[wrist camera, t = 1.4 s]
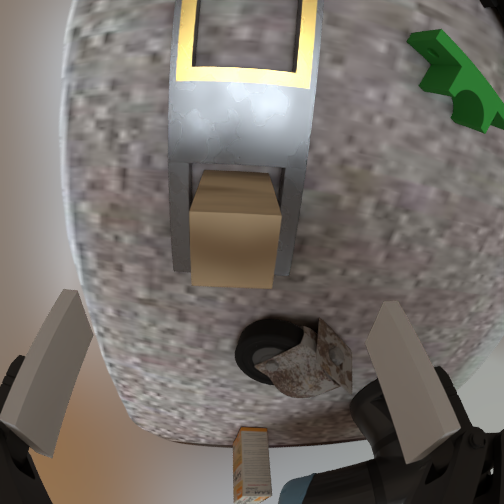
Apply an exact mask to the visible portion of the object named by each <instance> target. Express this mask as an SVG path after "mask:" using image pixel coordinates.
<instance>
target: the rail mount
mask: <svg viewBox="0 0 504 504" xmlns="http://www.w3.org/2000/svg"><path fill="white" fill-rule="evenodd" d="M480 1H481V2H482V4H483V6H484V7H485V8H487V7H497V9H498V11H499V13H500V14H501V16H502V18H503V20H504V0H480Z"/></svg>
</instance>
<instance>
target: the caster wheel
mask: <svg viewBox="0 0 504 504" xmlns="http://www.w3.org/2000/svg"><path fill="white" fill-rule="evenodd" d="M235 360H236V363H237V365H238V366H239V368H240V369H241V370H242V371H243V372H244V373H245V374H246V375H247V376H249V377H250V378H252V379H254V380H256V381H258V382H261V383H265V384H268V385H275V386H276V388H277V389H278V390H279V391H281V392H282V393H283V394H285V395H287V396H290V397H294V398H309V397H313V396H317V395H320V394H322V393H325V392H328V391H330V390H333V389H335V388H338V387H340V386H342V387H343V388H344V389H345V390H346V391H347V392H348V393H349V394H351V395H352V352H351V350H350V348H349V347H348V346H347V345H346V344H345V343H344V342H343V341H342V340H341V339H340V338H339V337H338V336H337V335H336V334H335V333H334V332H333V330H332V329H331V328H330V327H329V326H328V325H327V324H326V323H325V322H324V321H323V320H322V319H321V318H319V326H318V335H317V334H316V333H315V332H314V331H313V330H312V329H310V328H308V327H305V326H300V327H298V326H296V325H294V324H292V323H290V322H287V321H282V320H274V319H267V320H261V321H257V322H255V323H253V324H251V325H249V326H248V327H247V328H245V330H244V331H243V332H242V334H241V336H240V339H239V342H238V345H237V348H236V350H235Z"/></svg>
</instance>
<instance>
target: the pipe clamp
mask: <svg viewBox="0 0 504 504" xmlns="http://www.w3.org/2000/svg"><path fill="white" fill-rule="evenodd" d="M407 43H408V44H410V45H411V46H412V47H413V48H414V49H415V50H416V51H417V52H419V53H420V54H421V55H422V56H423V57H424V58H425V59H426V60H427V61H428V62H429V63H430V64H431V66H430V68H429V69H428V71H427V73H426V74H425V76H424V78H423V79H422V81H421V83H420V84H419V87H420V88H421V89H422V90H423V91H425V92H431V93H436V94H441V95H446V96H451V97H452V100H453V113H452V116H451V119H452V120H453V121H454V122H455V123H457V124H460V125H463V126H466V127H469V128H471V129H474V130H477V131H479V132H482V133H484V134H485V133H486V131H487V130H488V128H489V126H490V125H492V126H495V127H498V128H500V129H503V130H504V103H503V102H502V100H501V99H500V98H499V96H498V95H497V93H496V92H495V91H494V89H493V88H492V87H491V85H490V84H489V83H488V81H487V80H486V79H485V77H484V76H483V75H482V74H481V72H480V71H479V70H478V69H477V67H476V66H475V65H474V64H473V63H472V61H471V60H470V59H469V58H468V57H467V56H466V55H465V53H464V52H463V51H462V50H461V49H460V48H459V47H458V46H457V45H456V44H455V42H454V41H453V40H452V39H451V38H450V37H449V36H448V35H447V34H446V33H445V32H444V31H443V30H442V29H438V30H429V31H422V32H415V33H412V34H411V35H410V37H409V38H408V40H407Z"/></svg>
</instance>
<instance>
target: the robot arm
mask: <svg viewBox="0 0 504 504" xmlns="http://www.w3.org/2000/svg"><path fill="white" fill-rule="evenodd" d="M92 337H93V332H92V330H91V327H90V325H89V322H88V319H87V316H86V314H85V311H84V308H83V305H82V302H81V299H80V296H79V293H78V291H77V290H67V289H63V291H62V292H61V294H60V296H59V297H58V299H57V301H56V302H55V304H54V306H53V307H52V309H51V311H50V312H49V314H48V316H47V318H46V320H45V321H44V323H43V325H42V327H41V329H40V330H39V332H38V334H37V336H36V338H35V340H34V342H33V343H32V346H31V347H30V349H29V351H28V353H27V355H26V357H25V356H22V355H19V356H18V357H17V358H16V359H15V360H14V361H13V362H12V363H11V365H10V367H9V369H8V371H7V373H6V376H5V377H4V379H3V382H2V383H3V384H1V386H0V504H53V503H52V502H51V500H50V498H49V496H48V494H47V491H46V489H45V487H44V485H43V483H42V481H41V479H40V477H39V474H38V472H37V470H36V467H35V465H34V462H33V460H32V457H31V455H30V454H29V452H28V450H29V447H30V448H32V449H33V450H34V451H35V452H37V453H39V454H42V455H44V456H47V457H50V458H53V454H54V450H55V446H56V442H57V439H58V435H59V432H60V428H61V425H62V421H63V418H64V415H65V412H66V409H67V405H68V403H69V400H70V397H71V394H72V391H73V388H74V385H75V382H76V379H77V376H78V374H79V371H80V368H81V365H82V363H83V360H84V358H85V355H86V352H87V350H88V347H89V345H90V342H91V340H92ZM365 345H366V348H367V350H368V353H369V356H370V358H371V361H372V364H373V366H374V369H375V372H376V374H377V377H378V380H376V381H375V382H373V383H371V384H370V385H368V386H367V387H365V388H364V389H363V390H362V391H360V392H359V393H358V394H357V395H356V396H355V398H354V399H353V400H352V402H351V405H350V411H351V414H352V418H353V421H354V422H355V424H356V425H357V427H358V428H359V429H360V431H361V432H362V434H363V435H364V436H365V438H366V439H367V440H368V442H369V443H370V445H371V447H372V451H373V454H374V459H371V460H369V461H365V462H361V463H358V464H354V465H351V466H347V467H343V468H339V469H336V470H331V471H326V472H322V473H318V474H317V473H313V474H311V475H309V476H304V477H301V478H296V479H292V480H290V481H289V482H287V483H286V484H285V485H284V487H283V489H282V491H281V493H280V497H279V502H278V504H504V429H503V430H502V431H501V432H499V433H485V432H484V431H483V430H482V429H480V428H479V427H473V426H472V424H471V422H470V420H469V418H468V416H467V413H466V411H465V409H464V407H463V404H462V402H461V400H460V398H459V396H458V395H457V392H456V389H455V387H453V383H452V381H451V379H450V377H449V375H448V374H447V373H446V372H445V371H444V370H443V369H442V368H441V367H440V366H438V367H433V365H432V363H431V361H430V359H429V357H428V355H427V353H426V351H425V349H424V347H423V346H422V344H421V342H420V340H419V338H418V336H417V334H416V332H415V330H414V329H413V327H412V325H411V323H410V321H409V320H408V318H407V316H406V314H405V312H404V311H403V309H402V307H401V305H400V304H399V302H398V301H384V302H383V304H382V306H381V309H380V311H379V313H378V316H377V318H376V320H375V322H374V325H373V327H372V329H371V331H370V333H369V335H368V338H367V340H366V342H365ZM492 468H493V474H492V475H491V472H490V470H491V469H492Z"/></svg>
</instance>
